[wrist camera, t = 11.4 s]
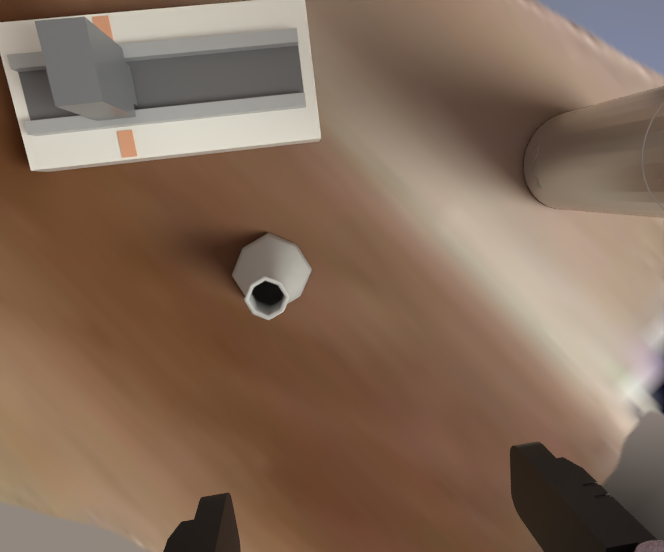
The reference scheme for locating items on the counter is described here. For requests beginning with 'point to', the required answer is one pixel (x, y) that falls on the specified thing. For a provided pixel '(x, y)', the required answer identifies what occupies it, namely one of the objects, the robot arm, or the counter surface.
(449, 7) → the counter surface
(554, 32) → the counter surface
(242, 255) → the flask
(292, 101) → the fader console
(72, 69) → the fader tab
